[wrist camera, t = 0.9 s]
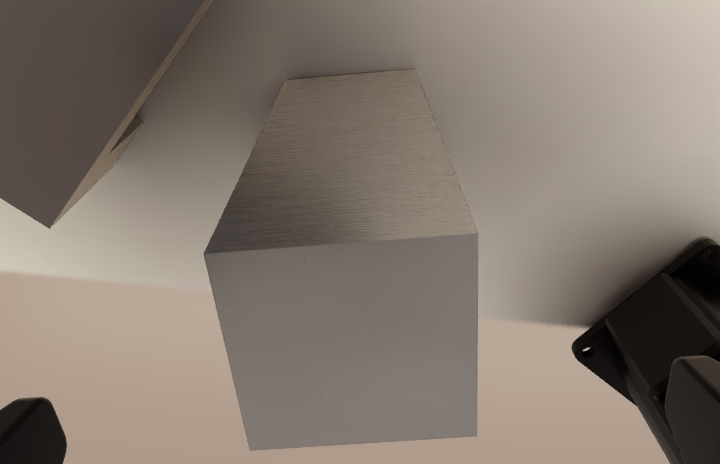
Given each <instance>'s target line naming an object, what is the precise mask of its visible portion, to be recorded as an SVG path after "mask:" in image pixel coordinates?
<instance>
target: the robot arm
mask: <svg viewBox="0 0 720 464" xmlns="http://www.w3.org/2000/svg"><path fill="white" fill-rule="evenodd" d="M708 251H711V253H710V254H709V256H707V257H705V258H703V255H704V254H705V253H707V252H708ZM588 347H591V348H590V349H589V350H587V351H583V349H585V348H588ZM572 351H573V353H574V355H575V357H576V359H577V360H578V361H579V362H581V363H582V364H583V365H584V366H586V367H587V368H588V369H590V370H591V371H592V372H594V373H595V374H596V375H597V376H599V377H600V378H601V379H603V380H604V381H605V382H606V383H608V384H609V385H610V386H611V387H613V388H614V389H615V390H617V391H618V392H619V393H621V394H622V395H623V396H624V397H626V398H627V399H628V400H630V401H631V402H632V403H633V404H635V405H636V406H637V407H638V408H639V410H640V412H641V413H642V415H643V417H644V419H645V420H646V422H647V424H648V425H649V427H650V429H651V431H652V433H653V434H654V436H655V437H656V439H657V441H658V443H659V445H660V446H661V448H662V450H663V451H664V453H665V455H666V457H667V458H668V460H669V462H670V464H720V245H719V244H718V243H717V242H715V241H713V240H709V239H706V240H701V241H699V242H698V243H696V244H695V245H693V246H692V247H691V248H690V249H688V250H687V251H686V252H685V253H683V254H682V255H681V256H680V257H678V258H677V259H676V260H675V261H673V262H672V263H671V264H670V265H668V266H667V267H666V268H665V269H663V270H662V271H661V272H660V273H658V274H657V275H656V276H655V277H653V278H652V279H651V280H650V281H649V282H647V283H646V284H645V285H644V286H642V287H641V288H640V289H639V290H637V291H636V292H635V293H634V294H632V295H631V296H630V297H629V298H627V299H626V300H625V301H624V302H622V303H621V304H620V305H619V306H617V307H616V308H615V309H614V310H612V311H611V312H610V313H609V314H607V315H606V316H605V317H604V318H602V319H601V320H600V321H599V322H597V323H596V324H595V325H594V326H592V327H591V328H590V329H589V330H587V331H586V332H585V333H584V334H582V335H581V336H580V337H579V338H577V339H576V340H575V341H574V342H573V345H572ZM66 448H67V442H66V437H65V434H64V431H63V429H62V427H61V424H60V422H59V420H58V417H57V415H56V412H55V410H54V408H53V405H52V403H51V402H50V401H49V400H48V399H47V398H44V397H34V398H21V399H17V400H15V401H13V402H11V403H10V404H8V405H7V406H5V407H4V408H2V409H1V410H0V464H63V461H64V458H65V454H66Z"/></svg>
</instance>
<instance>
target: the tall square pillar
mask: <svg viewBox="0 0 720 464" xmlns="http://www.w3.org/2000/svg"><path fill="white" fill-rule="evenodd" d="M204 258H205V262H206V266H207V270H208V275H209V279H210V283H211V287H212V292H213V296H214V300H215V304H216V309H217V313H218V317H219V321H220V326H221V330H222V334H223V338H224V343H225V347H226V350H227V355H228V360H229V364H230V368H231V372H232V377H233V381H234V385H235V389H236V394H237V398H238V402H239V406H240V411H241V415H242V419H243V423H244V428H245V432H246V436H247V441H248V445H249V449H250V451H251V450H267V449H283V448H299V447H314V446H329V445H330V446H331V445H347V444H361V443H378V442H394V441H408V440H409V441H410V440H425V439H441V438H456V437H473V436H477V344H478V343H477V342H478V340H477V338H478V329H477V328H478V231H477V229H476V226H475V224H474V221H473V218H472V216H471V213H470V211H469V208H468V206H467V203H466V200H465V198H464V195H463V193H462V190H461V187H460V185H459V182H458V180H457V177H456V175H455V172H454V169H453V167H452V164H451V162H450V159H449V156H448V154H447V151H446V149H445V146H444V144H443V141H442V138H441V136H440V133H439V131H438V128H437V125H436V123H435V120H434V118H433V115H432V113H431V110H430V107H429V105H428V102H427V100H426V97H425V94H424V92H423V89H422V87H421V84H420V82H419V79H418V76H417V74H416V71H415V69H407V70H396V71H384V72H372V73H361V74H349V75H338V76H326V77H314V78H303V79H291V80H285V82H284V85H283V87H282V89H281V91H280V93H279V95H278V97H277V99H276V101H275V104H274V106H273V108H272V110H271V112H270V114H269V116H268V118H267V121H266V123H265V125H264V127H263V129H262V131H261V133H260V135H259V138H258V140H257V142H256V144H255V146H254V148H253V150H252V152H251V155H250V157H249V159H248V161H247V163H246V165H245V167H244V169H243V172H242V174H241V176H240V178H239V180H238V182H237V184H236V186H235V189H234V191H233V193H232V195H231V197H230V199H229V201H228V203H227V206H226V208H225V210H224V212H223V214H222V216H221V218H220V220H219V223H218V225H217V227H216V229H215V231H214V233H213V235H212V237H211V240H210V242H209V244H208V246H207V248H206V250H205V252H204Z"/></svg>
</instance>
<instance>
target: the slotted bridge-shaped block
mask: <svg viewBox="0 0 720 464" xmlns="http://www.w3.org/2000/svg"><path fill="white" fill-rule="evenodd" d="M213 1H214V0H0V198H1V199H3V200H4V201H6V202H8V203H9V204H11V205H12V206H14V207H16V208H17V209H19V210H20V211H22V212H24V213H25V214H27V215H28V216H30V217H32V218H33V219H35V220H36V221H38V222H40V223H41V224H43V225H44V226H46V227H48V228H49V229H50V228H51V227H52V226H53V225H54V224H55V223H56V222H57V221H58V220H59V219H60V218H61V217H62V216H63V215H64V214H65V213H66V212H67V211H68V210H69V209H70V208H71V207H72V206H73V205H74V204H75V203H76V202H77V201H78V200H79V199H80V198H81V197H82V196H83V195H84V194H85V193H86V192H87V191H88V190H89V189H90V188H91V187H92V186H93V185H94V184H96V183H97V182H98V181H99V180H100V179H101V178H102V177H103V176H104V175H105V174H106V173H107V172H108V171H109V170H110V169H111V168H112V167H113V165H114V164H115V162H116V161H117V159H118V158H119V157H120V155H121V154H122V152H123V151H124V149H125V148H126V146H127V145H128V144H129V142H130V141H131V139H132V138H133V136H134V135H135V134H136V132H137V131H138V129H139V128H140V126H141V125H142V123H143V122H142V121H141V120H139V119H138V118H137V117H135V115H136V113H137V112H138V111H139V109H140V108H141V106H142V105H143V103H144V102H145V100H146V99H147V97H148V96H149V94H150V93H151V92H152V90H153V89H154V87H155V86H156V84H157V83H158V81H159V80H160V78H161V77H162V76H163V74H164V73H165V71H166V70H167V68H168V67H169V65H170V64H171V62H172V61H173V59H174V58H175V57H176V55H177V54H178V52H179V51H180V49H181V48H182V46H183V45H184V43H185V42H186V41H187V39H188V38H189V36H190V35H191V33H192V32H193V30H194V29H195V27H196V26H197V25H198V23H199V22H200V20H201V19H202V17H203V16H204V14H205V13H206V11H207V10H208V8H209V7H210V6H211V4H212V3H213Z"/></svg>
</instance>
